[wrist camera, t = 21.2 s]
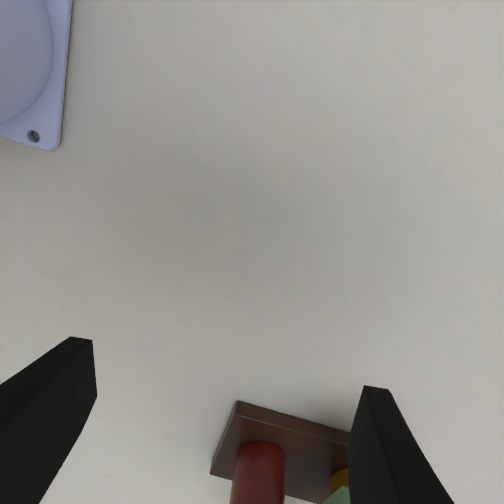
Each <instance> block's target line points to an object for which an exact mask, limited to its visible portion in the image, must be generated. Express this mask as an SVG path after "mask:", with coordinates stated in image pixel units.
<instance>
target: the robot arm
mask: <svg viewBox="0 0 504 504" xmlns="http://www.w3.org/2000/svg"><path fill="white" fill-rule="evenodd" d="M71 10H72V0H0V137H2V138H6V139H9V140H12V141H15V142H18V143H21V144H25V145H28V146H31V147H34V148H37V149H41V150H44V151H52V150H54V149H56V148H57V147H58V146H59V144H60V137H61V126H62V114H63V103H64V91H65V79H66V68H67V56H68V45H69V33H70V21H71ZM32 130H33V131H35V132H37V133H38V135H39V138H40V139H39V140H37V139H35V138H34V137H33V135H32ZM96 398H97V388H96V377H95V366H94V355H93V344H92V340H89V339H83V338H77V337H71V336H70V337H69V338H67V339H66V340H64V341H63V342H61V343H60V344H58V345H57V346H56V347H54V348H53V349H51V350H50V351H48V352H47V353H46V354H44V355H43V356H41V357H40V358H38V359H37V360H36V361H34V362H33V363H31V364H30V365H28V366H27V367H26V368H24V369H23V370H21V371H20V372H18V373H17V374H15V375H14V376H12V377H11V378H9V379H8V380H7V381H5V382H4V383H2V384H1V385H0V504H39V503H40V501H41V500H42V498H43V496H44V495H45V493H46V491H47V490H48V488H49V486H50V485H51V483H52V481H53V479H54V478H55V476H56V474H57V473H58V471H59V469H60V468H61V466H62V464H63V463H64V461H65V459H66V458H67V456H68V454H69V453H70V451H71V449H72V447H73V446H74V444H75V442H76V441H77V439H78V437H79V435H80V434H81V432H82V430H83V428H84V425H85V423H86V421H87V419H88V417H89V414H90V412H91V410H92V407H93V405H94V403H95V400H96ZM348 484H349V494H350V504H454V502H453V501H452V499H451V498H450V496H449V494H448V493H447V491H446V490H445V488H444V487H443V485H442V484H441V482H440V481H439V479H438V477H437V476H436V474H435V473H434V471H433V469H432V468H431V466H430V464H429V463H428V461H427V459H426V458H425V456H424V454H423V452H422V451H421V449H420V447H419V446H418V444H417V442H416V440H415V438H414V437H413V435H412V433H411V431H410V429H409V427H408V426H407V424H406V422H405V420H404V418H403V416H402V414H401V412H400V410H399V408H398V406H397V404H396V402H395V400H394V398H393V396H392V394H391V393H390V391H389V390H388V389H383V388H377V387H371V386H365V385H364V387H363V390H362V394H361V397H360V401H359V404H358V408H357V411H356V415H355V418H354V422H353V425H352V429H351V432H350V436H349V439H348Z"/></svg>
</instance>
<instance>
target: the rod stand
mask: <svg viewBox="0 0 504 504" xmlns="http://www.w3.org/2000/svg"><path fill="white" fill-rule="evenodd" d="M349 436H350V433H348V432H344V431H341V430H337V429H333V428H330V427H326V426H323V425H319V424H316V423H312V422H309V421H305V420H302V419H298V418H295V417H291V416H288V415H284V414H281V413H277V412H274V411H270V410H267V409H263V408H260V407H256V406H253V405H249V404H246V403H242V402H239V401H237V402H236V404H235V407H234V409H233V411H232V414H231V416H230V419H229V421H228V423H227V426H226V428H225V431H224V433H223V436H222V438H221V440H220V443H219V445H218V448H217V450H216V453H215V455H214V457H213V460H212V464H211V469H210V475H214V476H218V477H221V478H225V479H229V480H232V488H231V496H230V503H229V504H284V495H287V496H291V497H294V498H298V499H302V500H305V501H309V502H313V503H316V504H322V503H323V502H324V501H325V500H326V499H328V498H329V497H330V496H331V495H332V494H333V493H335V492H336V491H337V490H338V489H339V488H340V487H341V486H345V487H347V488H349V484H348V439H349Z"/></svg>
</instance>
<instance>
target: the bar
mask: <svg viewBox="0 0 504 504" xmlns="http://www.w3.org/2000/svg"><path fill="white" fill-rule="evenodd" d="M322 504H350V494H349V488H347V487H345V486H341V487H340V488H339V489H338V490H337V491H336V492H335V493H333V494H332V495H331V496H330V497H329V498H328V499H326V500H325V501H324V502H323V503H322Z"/></svg>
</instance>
